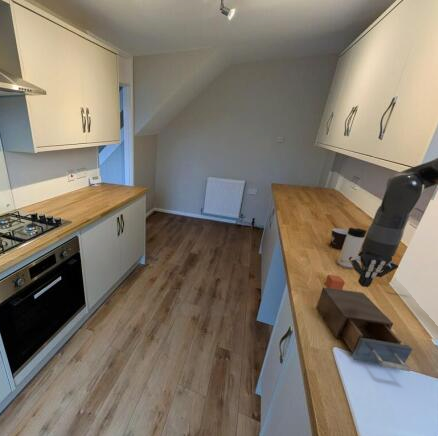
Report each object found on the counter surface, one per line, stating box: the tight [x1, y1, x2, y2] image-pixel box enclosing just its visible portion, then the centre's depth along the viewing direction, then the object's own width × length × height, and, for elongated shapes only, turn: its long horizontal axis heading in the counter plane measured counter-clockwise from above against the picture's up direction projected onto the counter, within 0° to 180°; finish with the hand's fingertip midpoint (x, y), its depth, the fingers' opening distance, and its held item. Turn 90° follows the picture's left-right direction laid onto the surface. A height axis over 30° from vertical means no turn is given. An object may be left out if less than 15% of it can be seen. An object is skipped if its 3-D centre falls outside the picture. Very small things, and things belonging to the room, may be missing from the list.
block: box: [324, 274, 346, 290], centre depth 100 cm, size 4×4×4 cm
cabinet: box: [316, 286, 394, 341], centre depth 79 cm, size 15×13×9 cm
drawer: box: [341, 319, 413, 372], centre depth 69 cm, size 18×11×7 cm, turn 167°
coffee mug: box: [329, 227, 348, 251], centre depth 133 cm, size 12×9×10 cm
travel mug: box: [336, 227, 367, 270], centre depth 114 cm, size 6×7×20 cm
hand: (363, 285), depth 78 cm, fingers closed
